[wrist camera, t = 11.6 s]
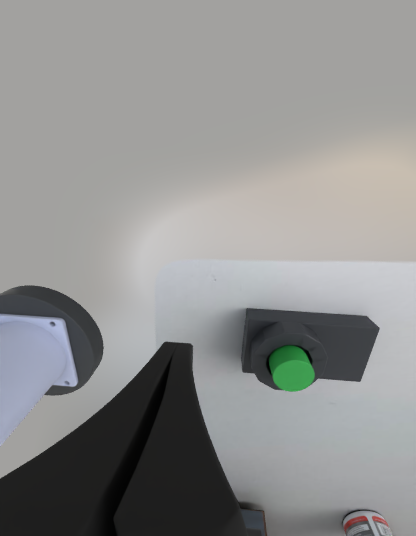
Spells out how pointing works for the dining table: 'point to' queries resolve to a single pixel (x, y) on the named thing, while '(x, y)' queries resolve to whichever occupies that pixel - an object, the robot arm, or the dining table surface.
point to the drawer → (253, 522)
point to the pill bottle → (366, 524)
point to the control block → (308, 342)
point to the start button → (291, 368)
